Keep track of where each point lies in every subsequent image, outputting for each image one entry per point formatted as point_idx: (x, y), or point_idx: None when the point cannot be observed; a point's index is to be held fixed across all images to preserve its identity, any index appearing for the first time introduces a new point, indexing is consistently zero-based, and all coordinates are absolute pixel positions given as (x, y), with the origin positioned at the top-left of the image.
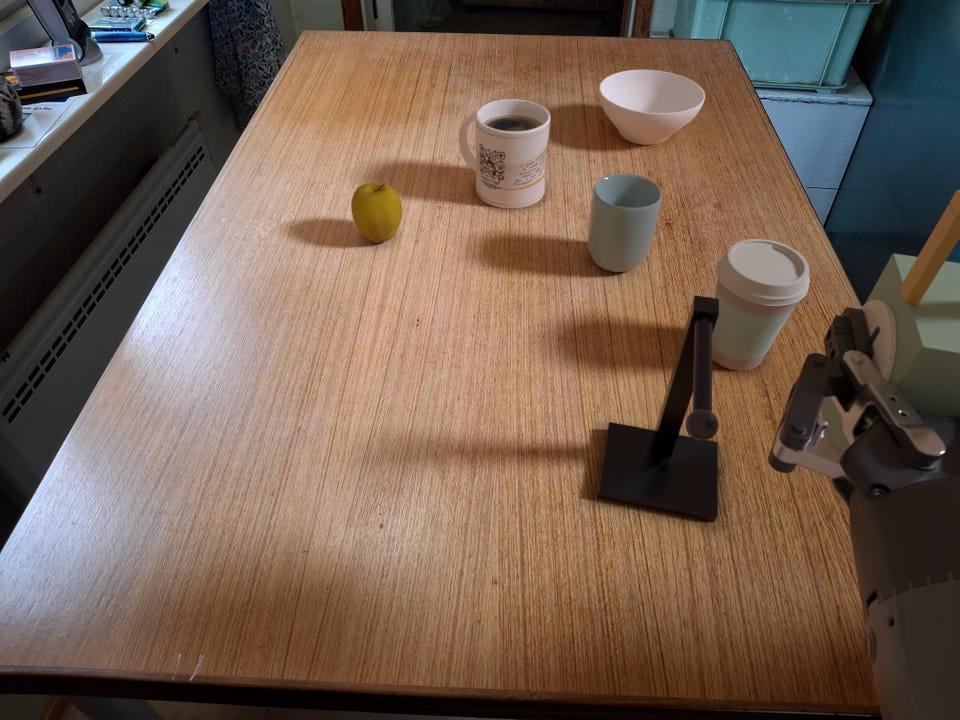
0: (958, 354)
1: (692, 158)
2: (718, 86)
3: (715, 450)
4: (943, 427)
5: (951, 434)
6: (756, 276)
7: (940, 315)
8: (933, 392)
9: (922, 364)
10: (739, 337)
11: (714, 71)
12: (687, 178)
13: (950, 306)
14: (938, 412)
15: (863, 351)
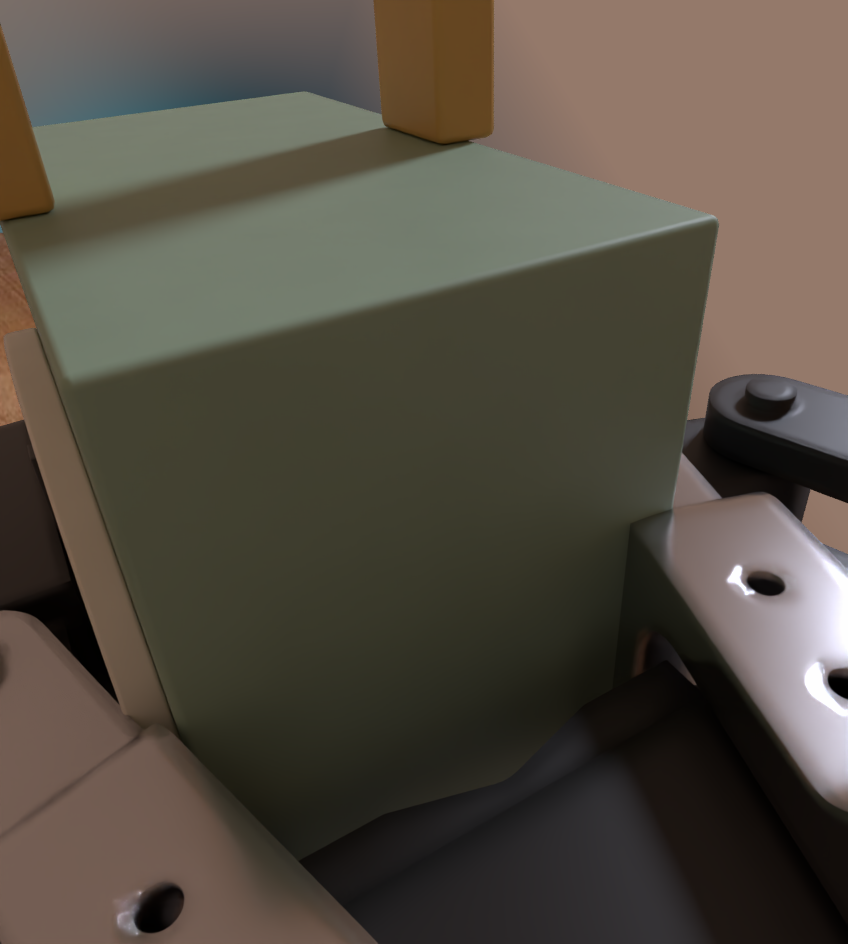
0: (364, 325)
1: (3, 374)
2: (17, 277)
3: None
4: (588, 863)
5: (660, 885)
6: None
7: (189, 207)
8: (407, 642)
9: (204, 524)
10: None
11: (6, 263)
12: (2, 403)
13: (236, 174)
14: (497, 707)
15: (17, 598)
